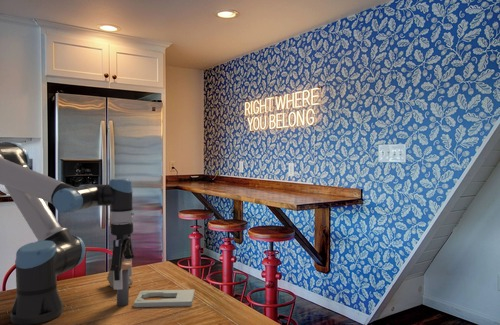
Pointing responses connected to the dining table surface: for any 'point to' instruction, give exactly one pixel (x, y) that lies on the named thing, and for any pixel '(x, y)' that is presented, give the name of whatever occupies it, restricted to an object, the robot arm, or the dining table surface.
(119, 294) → the peg
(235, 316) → the dining table surface
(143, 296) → the keyhole board
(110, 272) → the decorative stone
